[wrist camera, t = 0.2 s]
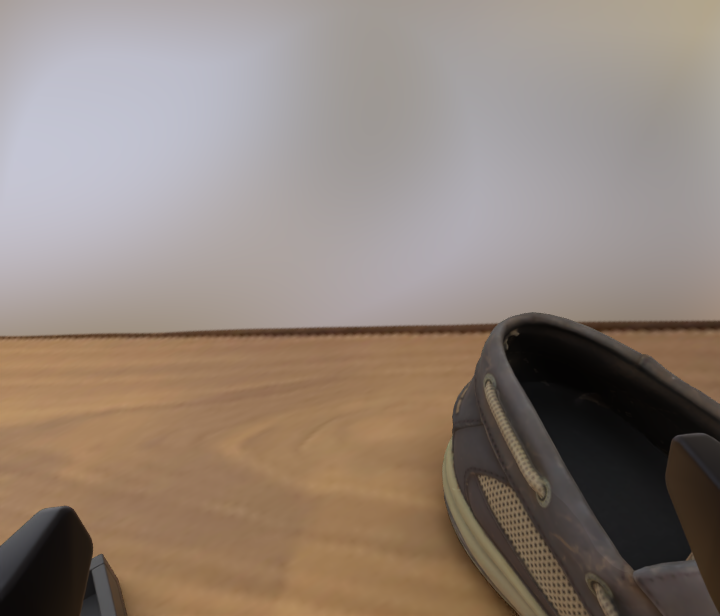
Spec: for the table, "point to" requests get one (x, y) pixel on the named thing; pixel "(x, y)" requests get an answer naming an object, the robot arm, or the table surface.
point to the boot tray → (102, 591)
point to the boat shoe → (574, 473)
